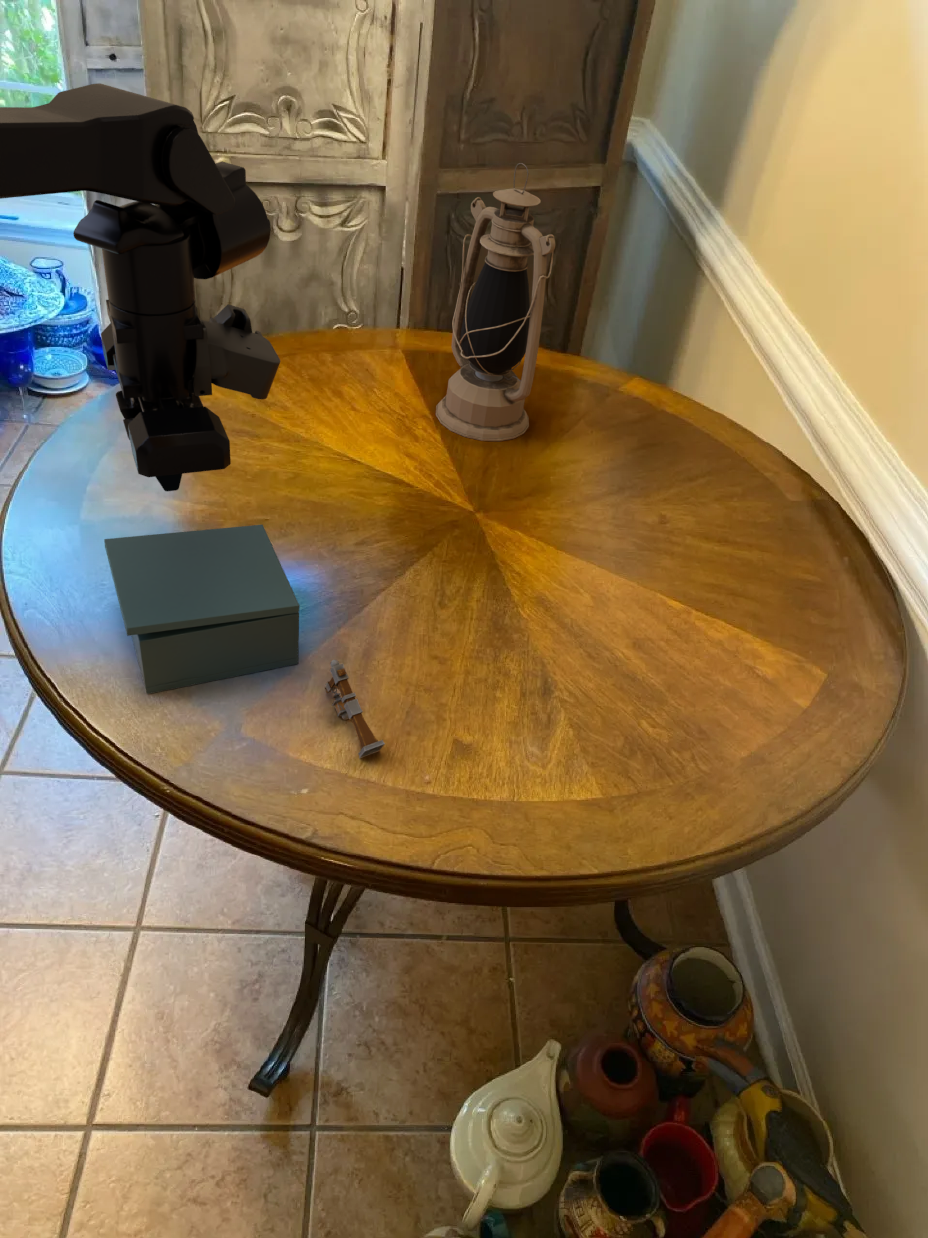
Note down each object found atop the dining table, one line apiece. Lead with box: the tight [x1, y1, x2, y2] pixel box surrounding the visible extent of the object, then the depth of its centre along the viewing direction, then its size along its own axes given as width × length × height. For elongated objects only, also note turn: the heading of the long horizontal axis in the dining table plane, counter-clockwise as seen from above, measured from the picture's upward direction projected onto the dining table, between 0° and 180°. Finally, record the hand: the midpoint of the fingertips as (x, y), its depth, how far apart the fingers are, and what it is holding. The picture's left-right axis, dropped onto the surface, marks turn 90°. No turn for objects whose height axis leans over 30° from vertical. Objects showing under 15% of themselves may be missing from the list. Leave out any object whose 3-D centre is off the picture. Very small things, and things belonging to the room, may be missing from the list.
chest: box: [130, 612, 300, 695], centre depth 78 cm, size 13×12×6 cm
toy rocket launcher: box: [324, 659, 386, 759], centre depth 73 cm, size 2×8×4 cm, turn 32°
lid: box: [103, 524, 301, 637], centre depth 76 cm, size 13×12×1 cm
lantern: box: [435, 162, 556, 442], centre depth 106 cm, size 14×12×30 cm
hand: (171, 488), depth 73 cm, fingers closed
